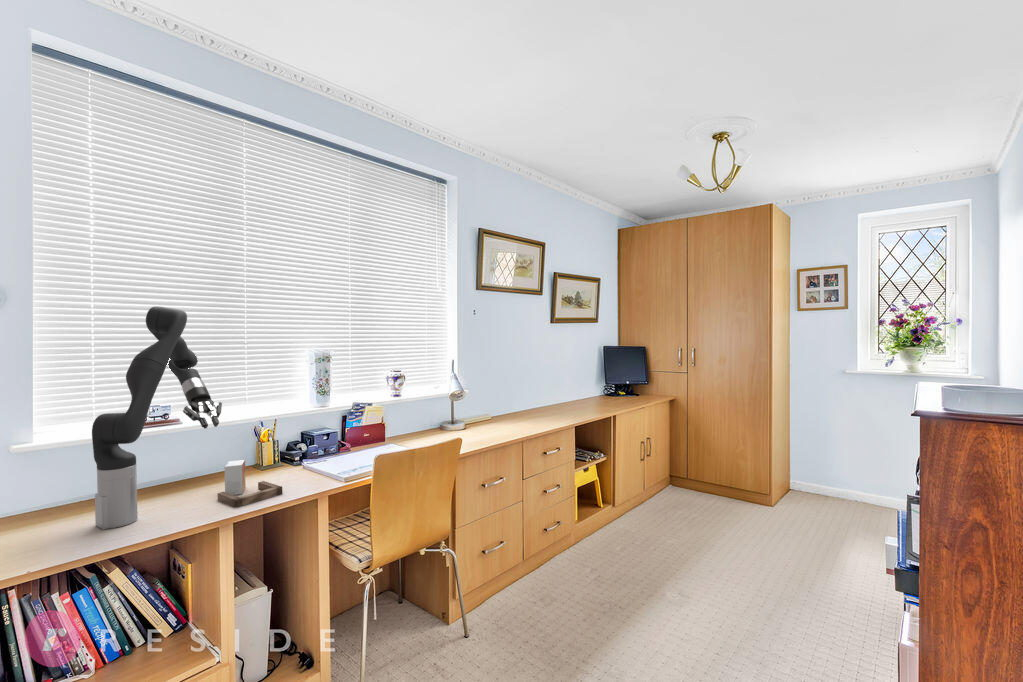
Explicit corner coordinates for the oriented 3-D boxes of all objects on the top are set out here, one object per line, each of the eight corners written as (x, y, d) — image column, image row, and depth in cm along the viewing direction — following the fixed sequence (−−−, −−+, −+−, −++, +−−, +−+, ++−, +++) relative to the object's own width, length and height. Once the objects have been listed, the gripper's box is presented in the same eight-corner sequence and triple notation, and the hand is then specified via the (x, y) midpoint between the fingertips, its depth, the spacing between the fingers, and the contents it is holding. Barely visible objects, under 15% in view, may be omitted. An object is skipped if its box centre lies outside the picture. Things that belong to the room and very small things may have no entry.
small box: (242, 494, 171) (242, 464, 170) (224, 496, 169) (224, 466, 168) (246, 487, 178) (245, 459, 178) (228, 489, 176) (228, 460, 176)
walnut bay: (236, 507, 158) (235, 500, 158) (217, 500, 164) (217, 493, 164) (282, 493, 171) (282, 486, 171) (263, 487, 178) (263, 480, 178)
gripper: (178, 387, 181) (194, 423, 175) (218, 383, 193) (234, 417, 187) (172, 400, 184) (187, 435, 178) (211, 396, 196) (227, 429, 190)
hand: (211, 426), depth 182 cm, fingers open, 3 cm apart
